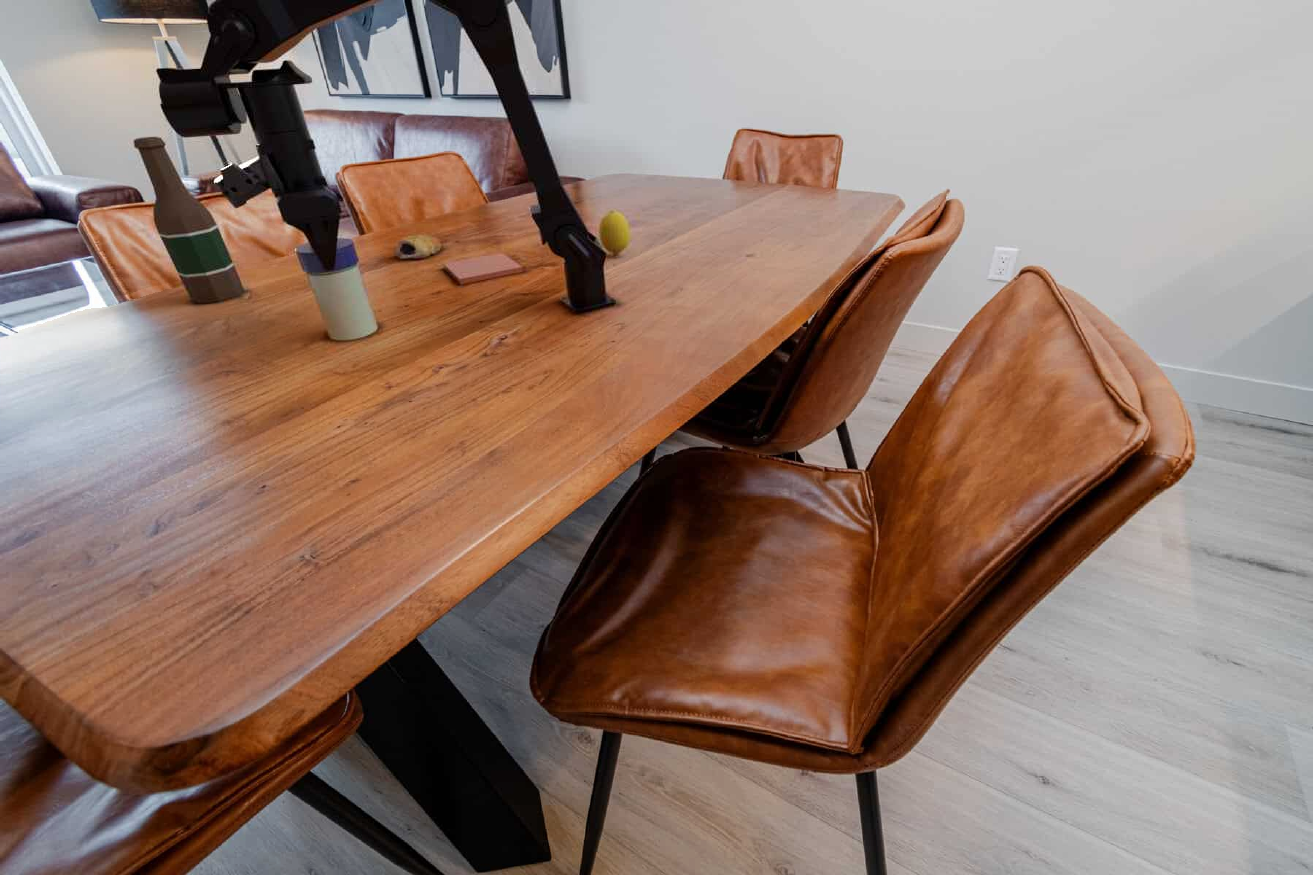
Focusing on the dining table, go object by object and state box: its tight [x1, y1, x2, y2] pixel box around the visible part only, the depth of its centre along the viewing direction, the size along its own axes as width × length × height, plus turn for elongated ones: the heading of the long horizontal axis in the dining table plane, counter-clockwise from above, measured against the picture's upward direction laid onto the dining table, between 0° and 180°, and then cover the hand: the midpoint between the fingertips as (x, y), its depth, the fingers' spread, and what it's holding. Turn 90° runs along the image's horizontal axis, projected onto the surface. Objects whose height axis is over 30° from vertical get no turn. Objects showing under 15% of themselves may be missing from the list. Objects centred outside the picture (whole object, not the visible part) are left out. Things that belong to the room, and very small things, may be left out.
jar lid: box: [294, 237, 359, 273], centre depth 78 cm, size 7×7×3 cm
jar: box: [305, 262, 379, 342], centre depth 81 cm, size 6×6×11 cm
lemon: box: [598, 209, 631, 257], centre depth 108 cm, size 6×6×8 cm
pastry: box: [394, 234, 442, 260], centre depth 117 cm, size 9×7×4 cm
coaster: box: [443, 252, 524, 285], centre depth 106 cm, size 11×11×1 cm
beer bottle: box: [133, 136, 244, 305], centre depth 94 cm, size 8×8×24 cm
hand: (327, 263), depth 79 cm, fingers closed on jar lid, 7 cm apart
